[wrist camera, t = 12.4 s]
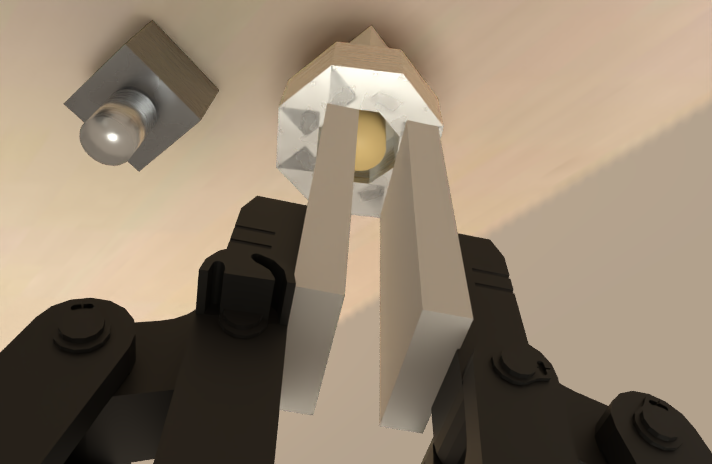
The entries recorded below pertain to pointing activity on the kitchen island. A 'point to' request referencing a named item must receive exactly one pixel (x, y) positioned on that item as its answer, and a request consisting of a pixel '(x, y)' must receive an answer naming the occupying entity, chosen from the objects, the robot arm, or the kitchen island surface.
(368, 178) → the ring
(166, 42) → the stand
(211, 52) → the kitchen island surface
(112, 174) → the kitchen island surface
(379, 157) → the hub
